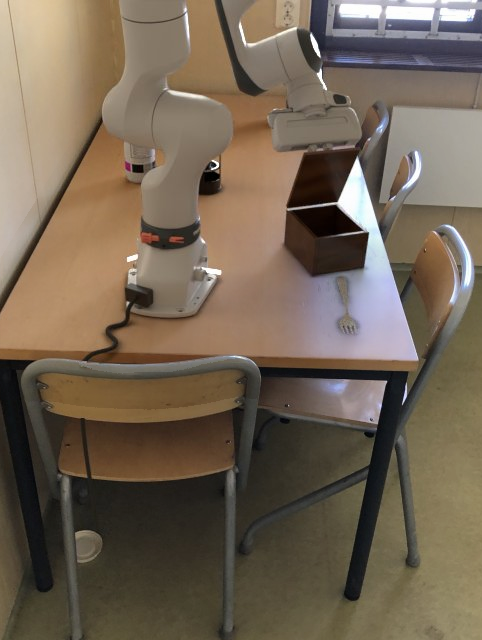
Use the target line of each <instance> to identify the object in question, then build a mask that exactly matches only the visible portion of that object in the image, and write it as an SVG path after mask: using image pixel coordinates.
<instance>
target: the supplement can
mask: <svg viewBox="0 0 482 640" xmlns="http://www.w3.org/2000/svg"><path fill="white" fill-rule="evenodd" d="M122 142H123V157H124V167H125V178H126V179H127V180H128V181H129V182H132V183H135V184H141V183H142V180H143V178H144V176H145V175H146V174H147V173H148V172H149V171H150V170H152V169H154V168H156V167H157V165H156V164H157V163H156V149H151V148H146V147H141V146H136V145H131V144H129V143H127V142H124V141H122Z"/></svg>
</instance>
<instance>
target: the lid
mask: <svg viewBox="0 0 482 640" xmlns="http://www.w3.org/2000/svg"><path fill="white" fill-rule="evenodd" d="M360 151H361V149H360V146H355V147H347V148H345V147H344V148H336V149H334V148H333V150H324V151H323V150H316V151H314V152H308V151H305V152H303V154H302V157H301V159H300V163H299V167H298V168H297V171H296V175H295V178H294V181H293V182H292V183H293V184H292V187H291V190H290V193H289V196H288V199H287V201H286V204H285V207H286V209H292V208H300V207H308V206H317V205H325V204H333V203H339V200H340V198H341V196H342V194H343V191H344V189H345V187H346V184H347V182H348V180H349V177H350V175H351V172H352V170H353V168H354V166H355V163H356V160H357V158H358V156H359V154H360Z"/></svg>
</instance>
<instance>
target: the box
mask: <svg viewBox="0 0 482 640" xmlns="http://www.w3.org/2000/svg"><path fill="white" fill-rule="evenodd" d="M284 225H285V226H284V237H283V238H284V239H283V245H284V246H285V247H286V248H287V250H288V251H289V252H290V253H291V254H292V256H293V257H294V258H295V259H296V260H297V261H298V262H299V263H300V265H301V266H302V267H303V268H304V269H305V270H306V271H307V273H308V274H309V275H310V276H311V277H318V276H325V275H331V274H337V273H342V272H348V271H349V272H350V271H354V270H355V271H356V270H360V269H365V264H366V259H367V258H366V257H367V251H368V246H369V245H368V244H369V238H370V231H369V230H368V229H367V228H366V227H364V225H362V224H361V223H360V222H359V221H358V220H357V219H355V218H354V217H353V216H352V215H351V214H350V213H349V212H348V211H347V210H346V209H345V208H344V207H343V206H341V205H340V204H339V202H336V203H328V204H319V205H311V206H303V207H295V208H286V210H285V223H284Z"/></svg>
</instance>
